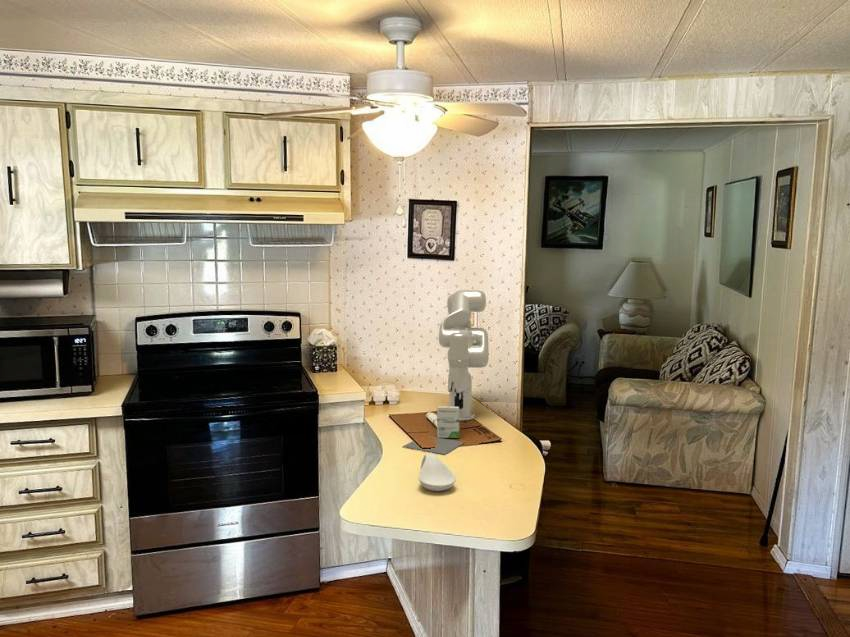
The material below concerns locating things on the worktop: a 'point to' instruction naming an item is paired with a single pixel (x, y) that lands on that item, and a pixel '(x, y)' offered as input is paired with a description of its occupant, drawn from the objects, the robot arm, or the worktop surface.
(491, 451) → the worktop surface
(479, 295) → the robot arm
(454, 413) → the ink box
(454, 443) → the mat
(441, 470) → the spoon rest
